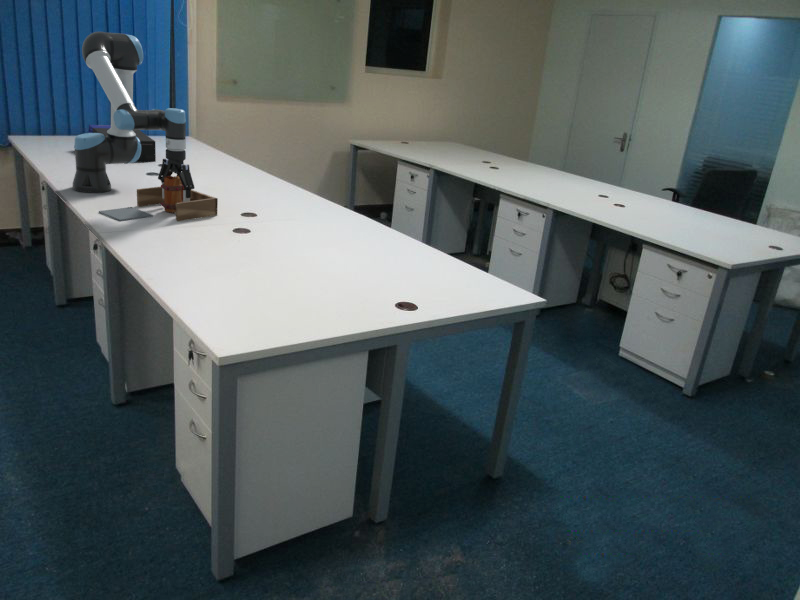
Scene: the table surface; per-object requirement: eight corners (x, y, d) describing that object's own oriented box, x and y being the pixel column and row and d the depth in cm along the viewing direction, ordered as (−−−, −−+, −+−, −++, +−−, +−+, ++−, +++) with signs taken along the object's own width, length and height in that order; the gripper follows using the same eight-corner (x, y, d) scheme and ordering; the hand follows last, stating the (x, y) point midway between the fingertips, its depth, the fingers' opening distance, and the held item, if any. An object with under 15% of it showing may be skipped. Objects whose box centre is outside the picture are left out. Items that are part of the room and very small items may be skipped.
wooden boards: (137, 205, 264) (136, 189, 261) (177, 200, 279) (176, 184, 276) (177, 221, 250) (177, 203, 248) (217, 215, 266) (217, 198, 263)
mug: (176, 216, 257) (175, 178, 252) (157, 212, 258) (156, 175, 253) (194, 208, 270) (194, 173, 265) (176, 205, 272) (176, 170, 266)
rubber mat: (98, 212, 249) (98, 211, 249) (131, 208, 260) (131, 206, 259) (120, 221, 242) (119, 219, 241) (152, 216, 253) (152, 215, 252)
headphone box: (132, 150, 374) (132, 124, 369) (155, 162, 350) (155, 135, 345) (87, 150, 359) (86, 123, 354) (108, 162, 335) (107, 134, 330)
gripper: (148, 144, 259) (149, 196, 266) (187, 155, 246) (187, 209, 254) (164, 143, 265) (165, 194, 272) (203, 154, 252) (203, 207, 259)
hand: (176, 201), depth 263 cm, fingers open, 13 cm apart
